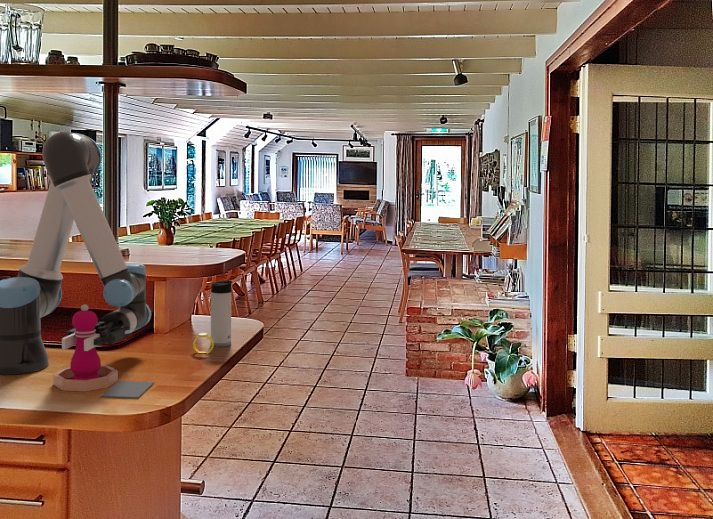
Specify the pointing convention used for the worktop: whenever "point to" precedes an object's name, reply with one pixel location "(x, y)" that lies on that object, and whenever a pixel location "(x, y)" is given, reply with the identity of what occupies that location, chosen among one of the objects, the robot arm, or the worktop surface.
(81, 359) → the pepper mill
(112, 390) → the mat
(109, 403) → the worktop surface
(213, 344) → the watch
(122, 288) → the robot arm
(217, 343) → the travel mug
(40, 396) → the worktop surface
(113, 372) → the octagonal frame ring
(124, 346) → the worktop surface
